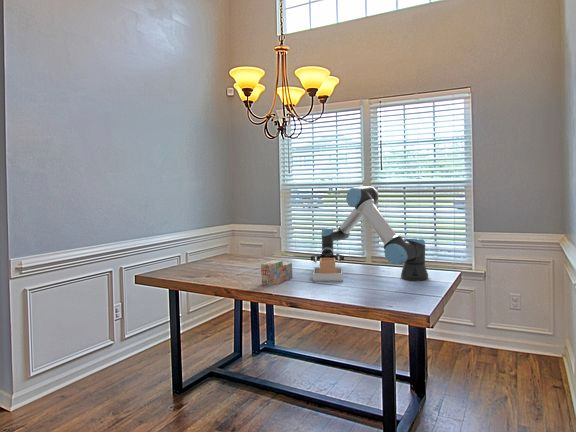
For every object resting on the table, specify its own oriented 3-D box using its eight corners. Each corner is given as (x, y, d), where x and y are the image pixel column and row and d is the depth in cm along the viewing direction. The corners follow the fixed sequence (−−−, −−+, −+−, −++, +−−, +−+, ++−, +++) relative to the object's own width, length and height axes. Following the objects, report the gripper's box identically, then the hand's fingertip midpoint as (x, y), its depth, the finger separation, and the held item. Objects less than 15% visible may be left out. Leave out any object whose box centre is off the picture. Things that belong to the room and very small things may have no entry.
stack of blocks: (284, 276, 252) (283, 256, 251) (292, 278, 248) (292, 257, 247) (261, 284, 235) (260, 263, 234) (270, 286, 231) (269, 264, 230)
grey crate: (342, 274, 253) (342, 267, 253) (342, 281, 237) (342, 273, 236) (314, 274, 255) (314, 267, 255) (312, 281, 238) (312, 273, 238)
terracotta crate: (335, 274, 250) (335, 257, 249) (335, 277, 241) (335, 261, 240) (320, 274, 251) (320, 258, 250) (320, 278, 242) (319, 261, 241)
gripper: (347, 259, 265) (348, 267, 244) (308, 260, 268) (306, 267, 246) (347, 248, 264) (348, 254, 243) (307, 248, 267) (305, 254, 246)
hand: (327, 261), depth 245 cm, fingers open, 13 cm apart
